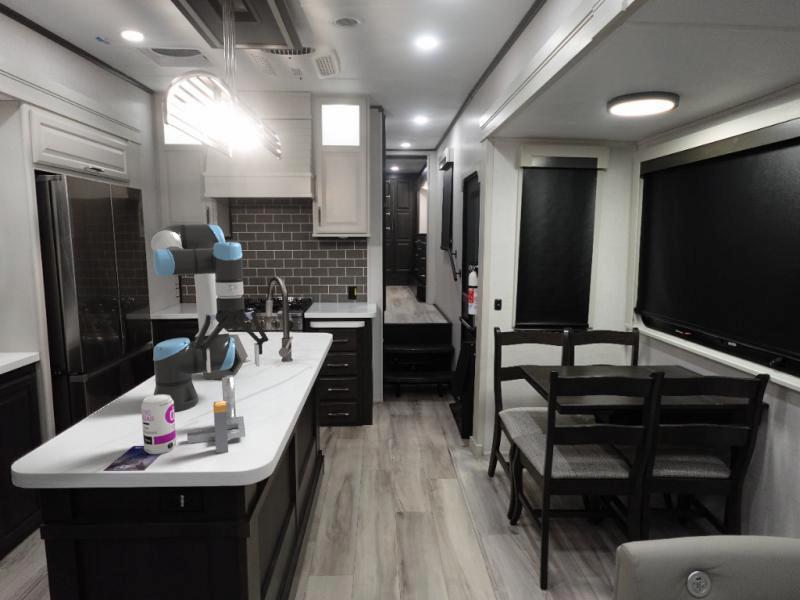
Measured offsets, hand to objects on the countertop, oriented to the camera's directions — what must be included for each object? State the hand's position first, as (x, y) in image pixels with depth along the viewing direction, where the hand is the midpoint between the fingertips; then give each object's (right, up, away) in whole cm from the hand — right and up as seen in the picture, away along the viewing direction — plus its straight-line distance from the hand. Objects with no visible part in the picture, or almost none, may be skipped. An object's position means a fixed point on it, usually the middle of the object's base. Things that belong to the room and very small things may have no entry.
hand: (233, 368), depth 141 cm
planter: (-26, -13, +63) cm, 70 cm away
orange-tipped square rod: (-2, -23, -4) cm, 23 cm away
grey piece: (-8, -21, +7) cm, 24 cm away
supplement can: (-20, -23, -3) cm, 30 cm away
